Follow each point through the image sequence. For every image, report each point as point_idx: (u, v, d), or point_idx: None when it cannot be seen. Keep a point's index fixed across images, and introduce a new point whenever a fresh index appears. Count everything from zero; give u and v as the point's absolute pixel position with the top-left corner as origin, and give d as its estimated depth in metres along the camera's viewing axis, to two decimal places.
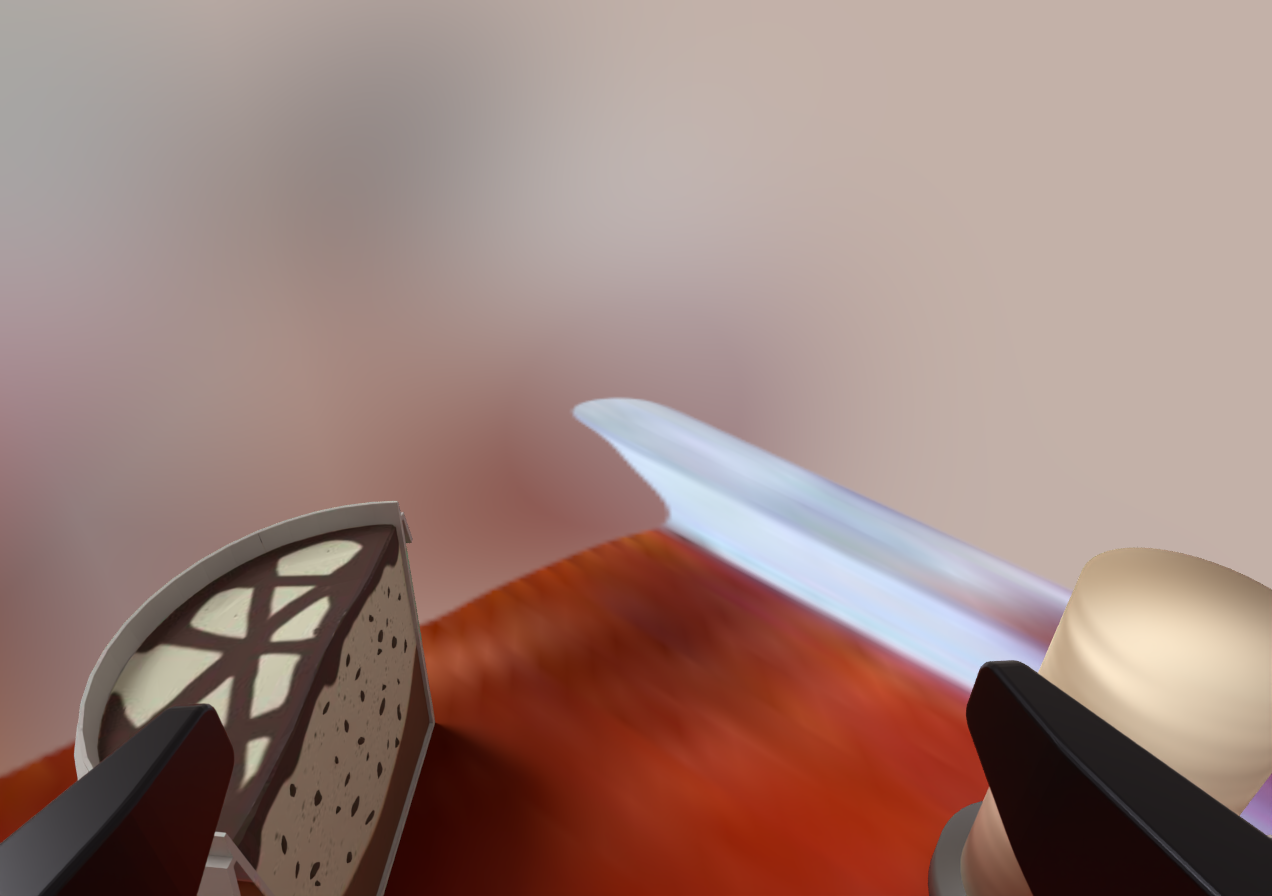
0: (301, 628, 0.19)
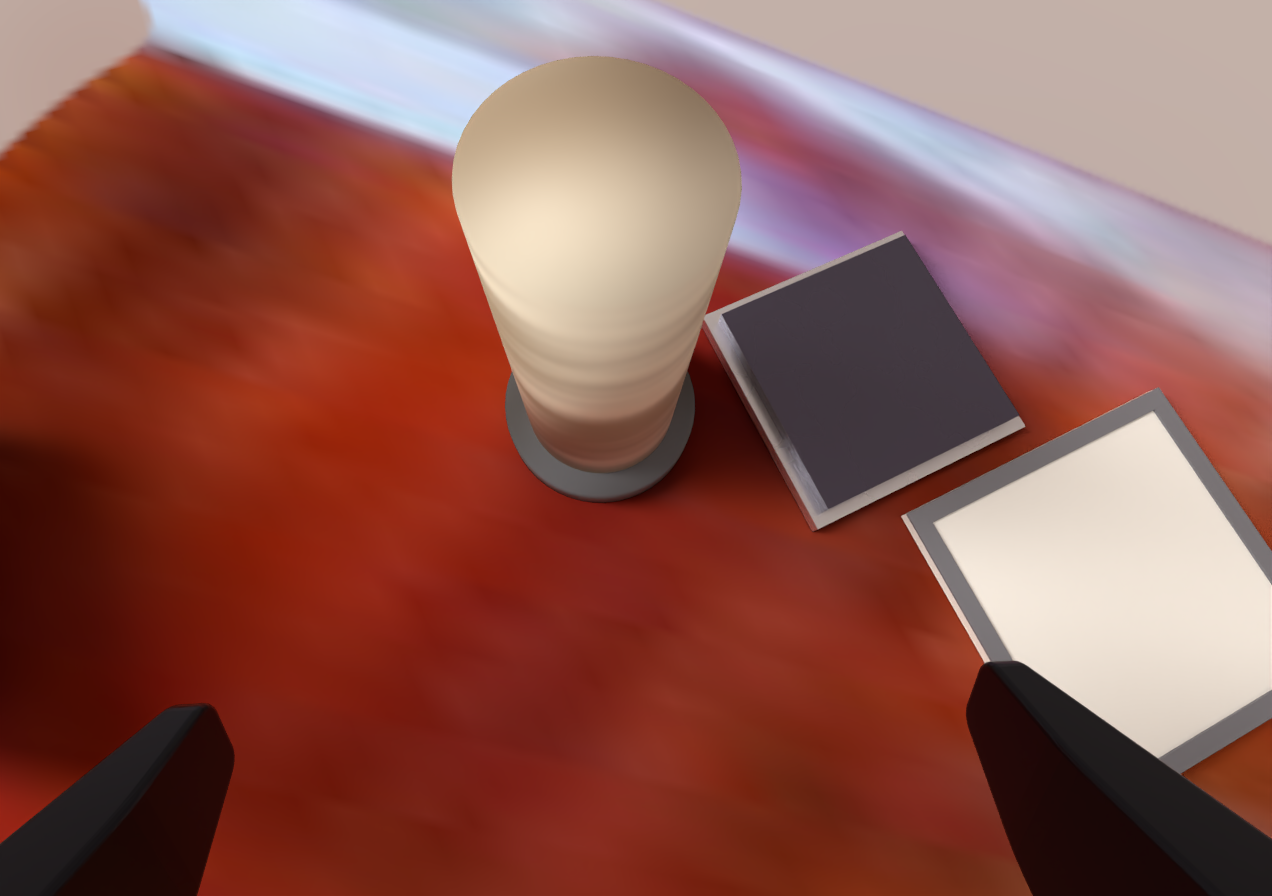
0: None
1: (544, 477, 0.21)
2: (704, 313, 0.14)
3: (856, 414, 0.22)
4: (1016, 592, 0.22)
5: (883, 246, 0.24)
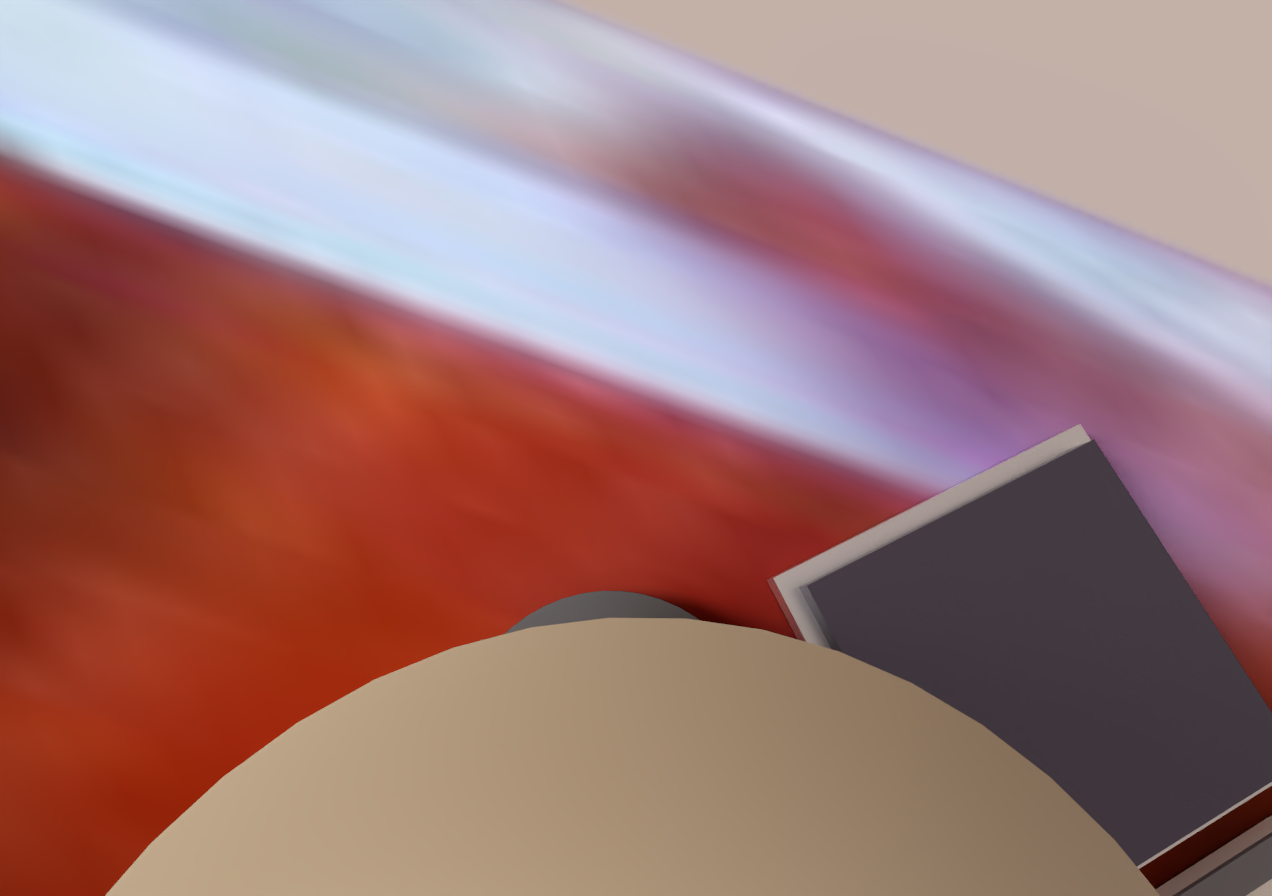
0: None
1: None
2: None
3: (1036, 766, 0.13)
4: None
5: (1061, 460, 0.15)
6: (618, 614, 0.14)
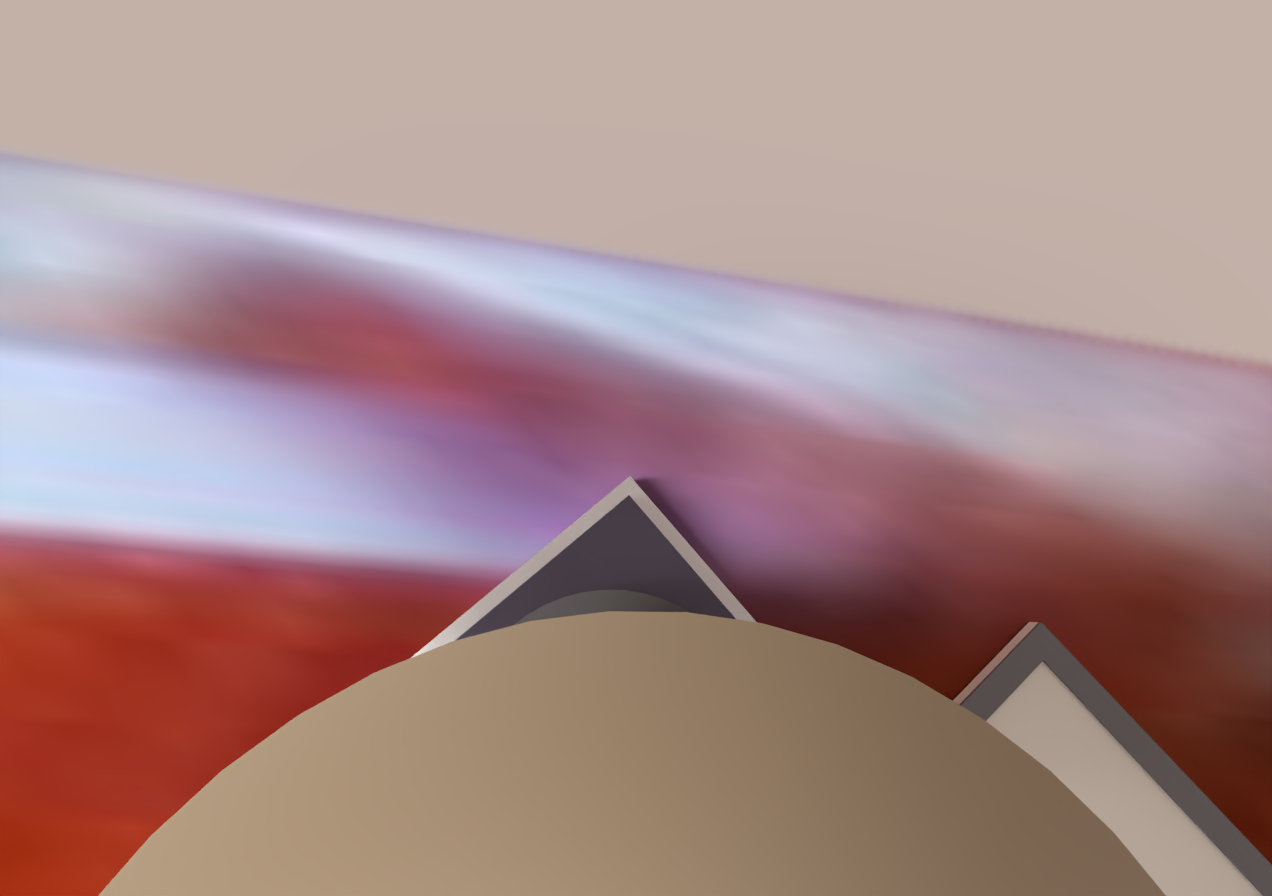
0: None
1: None
2: None
3: None
4: None
5: (599, 524, 0.16)
6: None
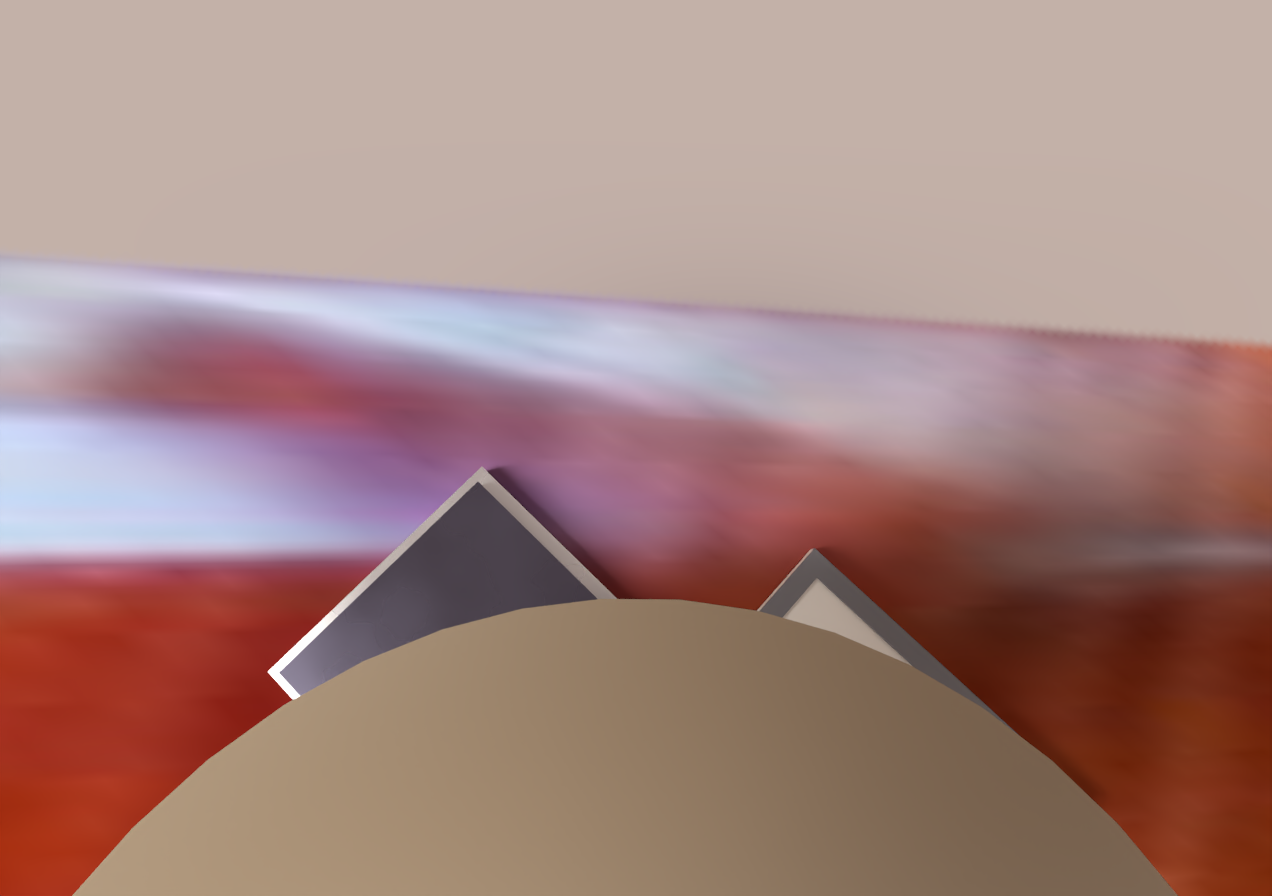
0: None
1: None
2: None
3: None
4: None
5: (455, 506, 0.20)
6: None
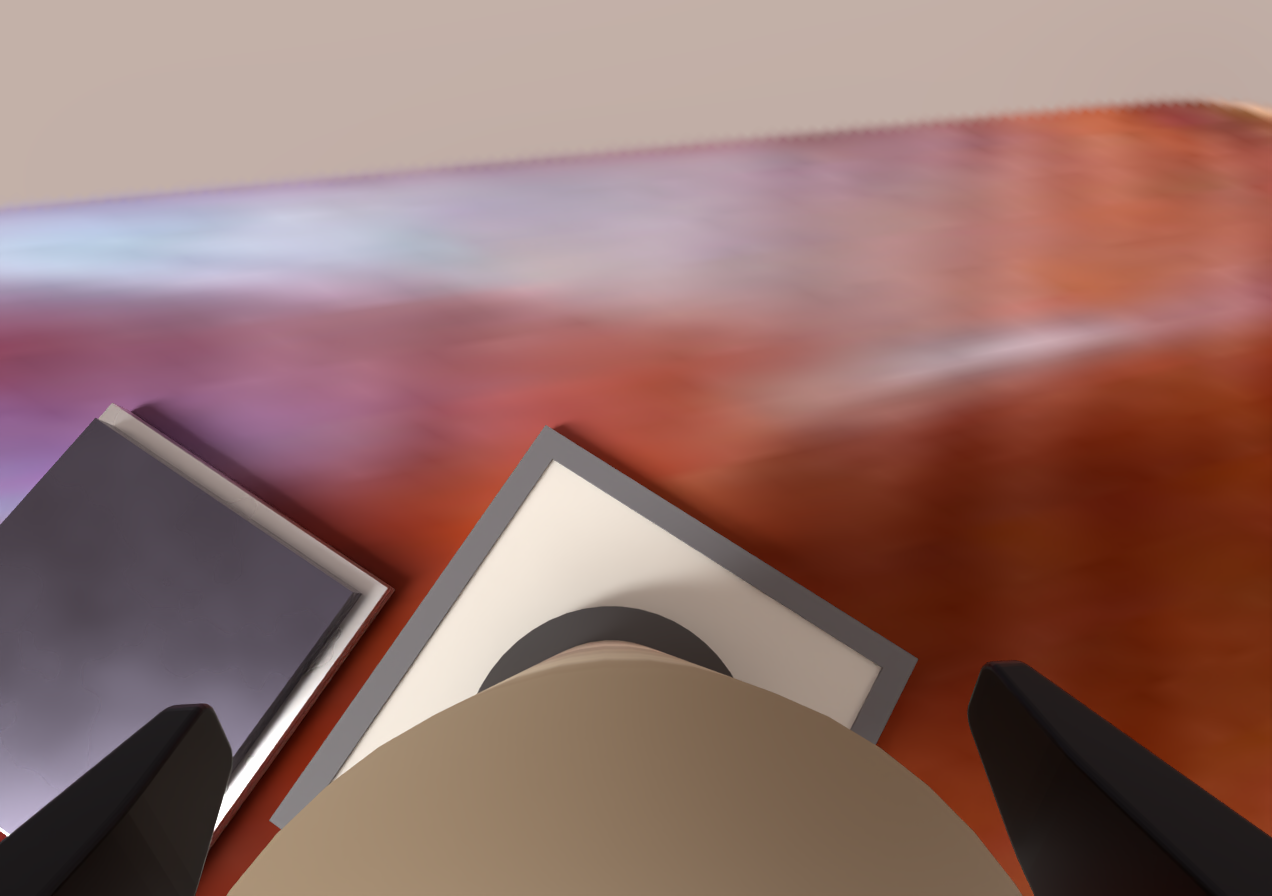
0: None
1: None
2: None
3: (111, 737, 0.14)
4: None
5: (67, 453, 0.16)
6: (617, 628, 0.15)
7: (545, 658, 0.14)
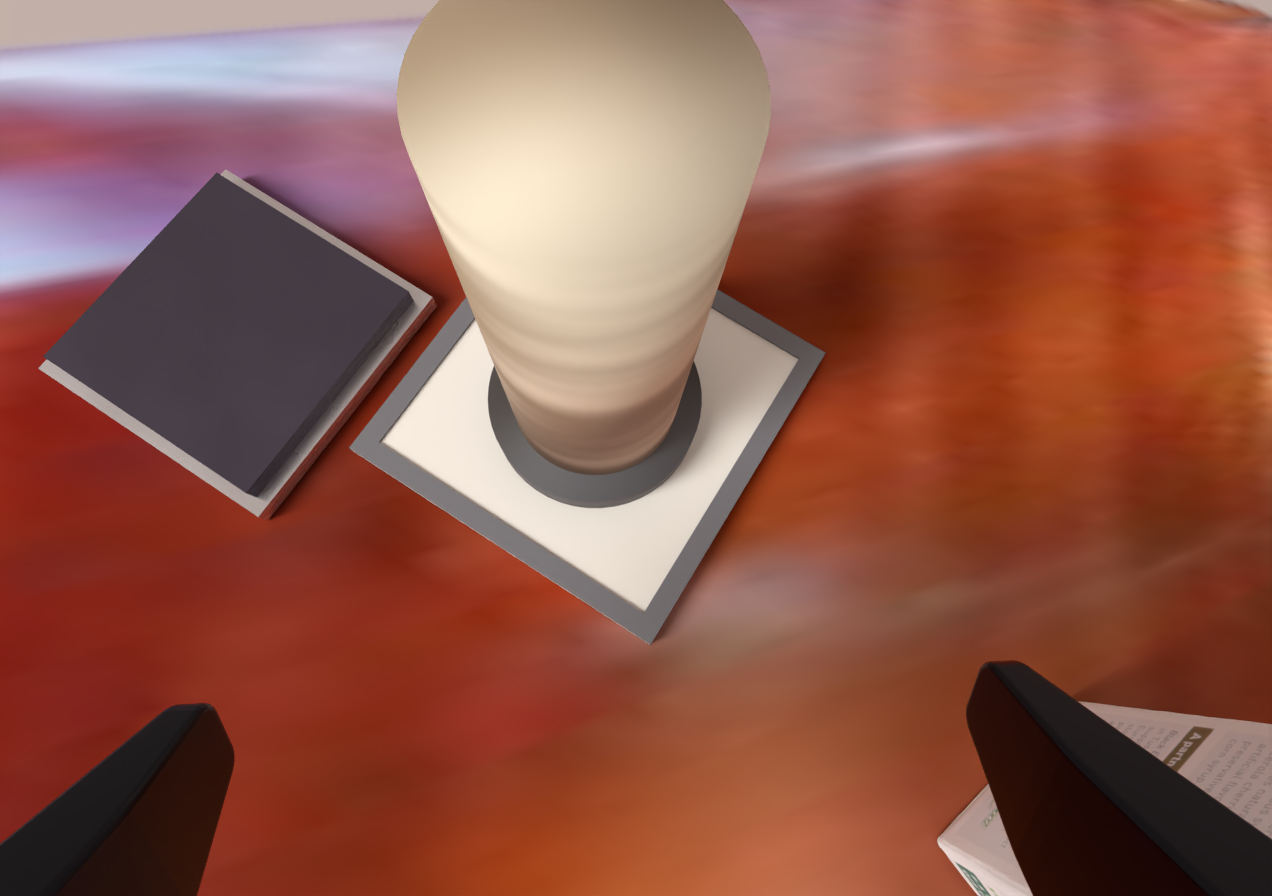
0: None
1: (531, 480, 0.19)
2: (719, 280, 0.11)
3: (237, 380, 0.20)
4: (492, 461, 0.20)
5: (197, 195, 0.21)
6: None
7: None
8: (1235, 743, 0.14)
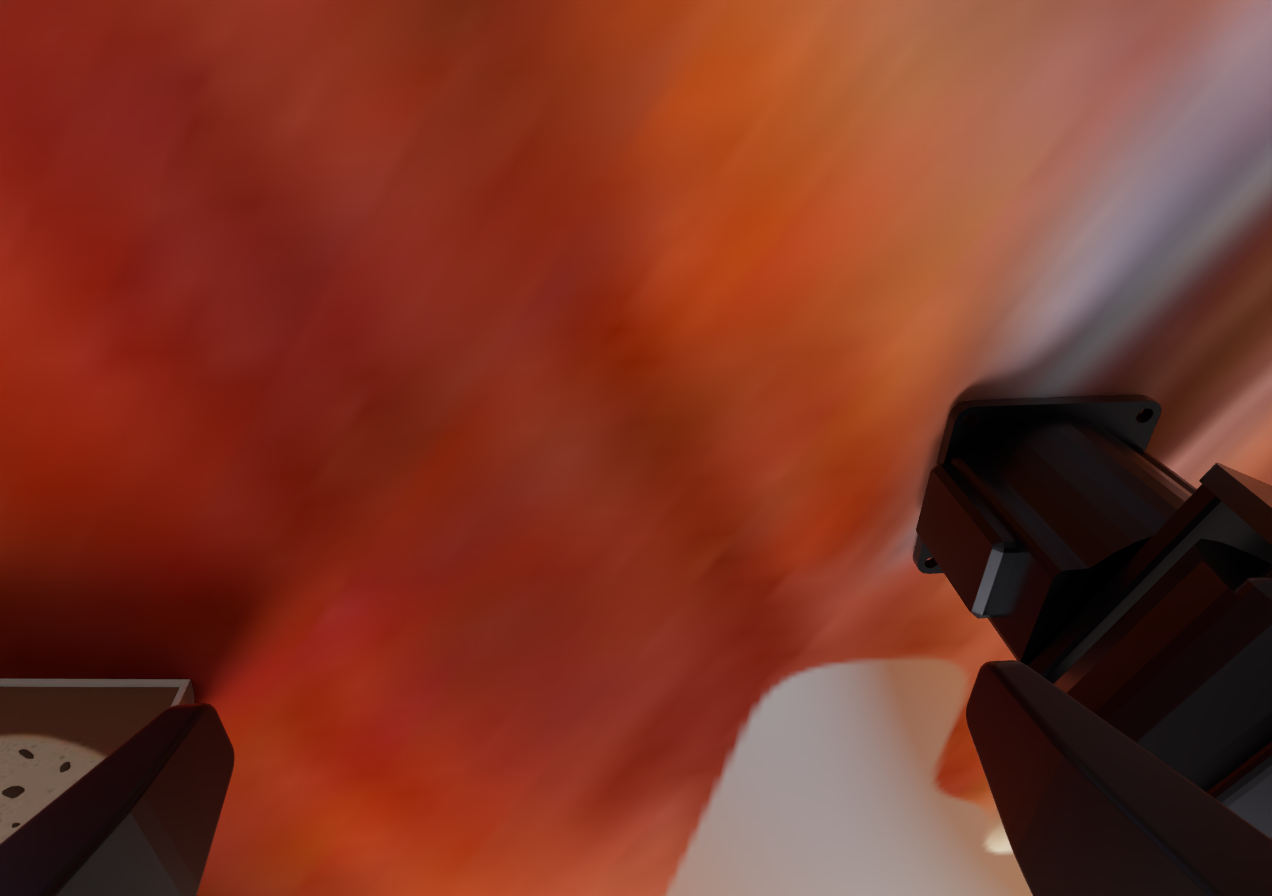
0: None
1: None
2: None
3: None
4: None
5: None
6: None
7: None
8: None
